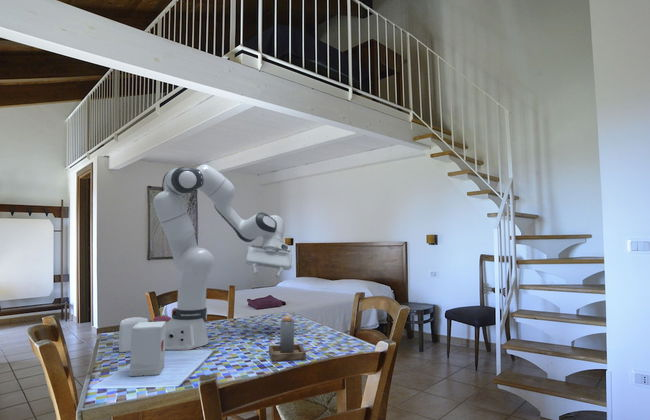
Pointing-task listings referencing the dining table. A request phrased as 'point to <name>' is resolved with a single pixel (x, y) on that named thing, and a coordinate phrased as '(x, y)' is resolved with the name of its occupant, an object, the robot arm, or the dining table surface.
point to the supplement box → (147, 348)
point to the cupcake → (161, 317)
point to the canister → (287, 335)
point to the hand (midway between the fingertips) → (266, 275)
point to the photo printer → (127, 332)
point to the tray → (277, 356)
